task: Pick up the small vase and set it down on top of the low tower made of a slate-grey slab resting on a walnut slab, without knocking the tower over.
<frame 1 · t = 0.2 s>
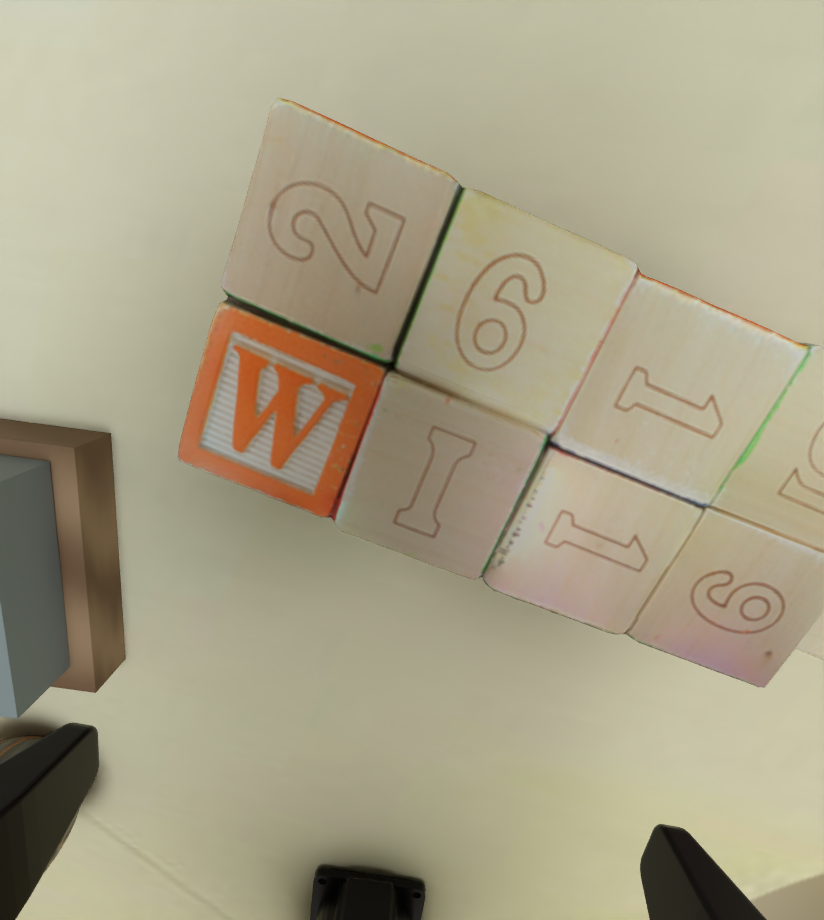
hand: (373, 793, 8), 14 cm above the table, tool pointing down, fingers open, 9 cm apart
tower base: (6, 531, 24), on the table, touching tower top
stack of blocks: (586, 402, 21), on the table
vase: (47, 760, 28), on the table
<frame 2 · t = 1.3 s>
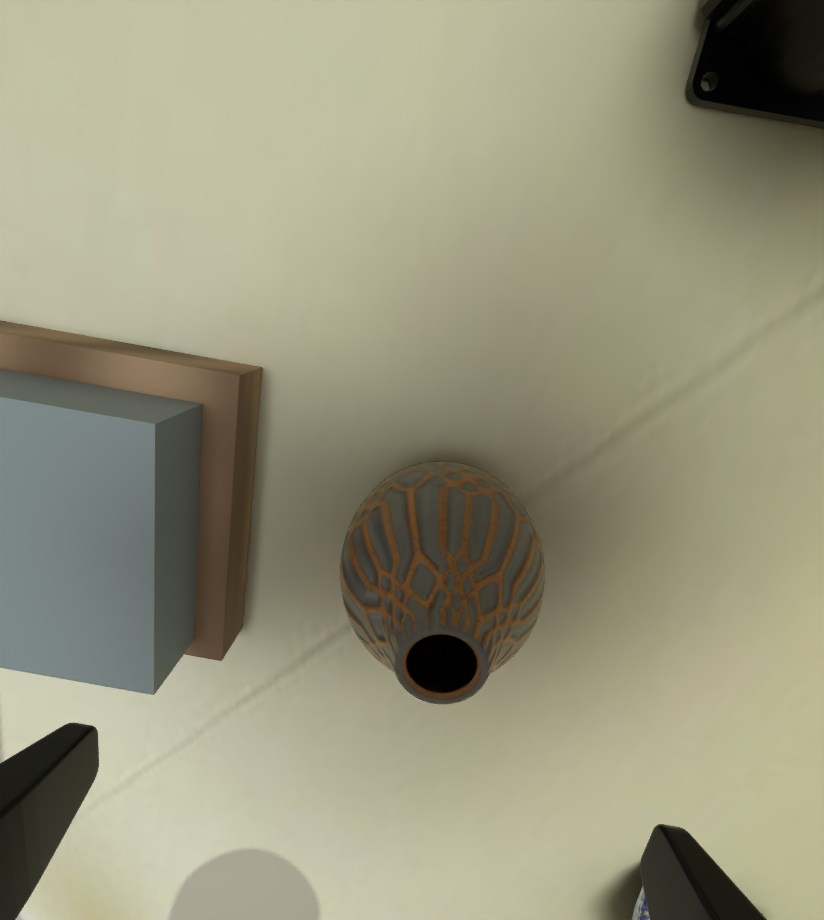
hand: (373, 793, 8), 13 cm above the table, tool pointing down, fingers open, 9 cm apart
tower base: (122, 477, 22), on the table, touching tower top
vase: (441, 519, 21), on the table
tower top: (68, 508, 19), point 2 cm above the table, touching tower base
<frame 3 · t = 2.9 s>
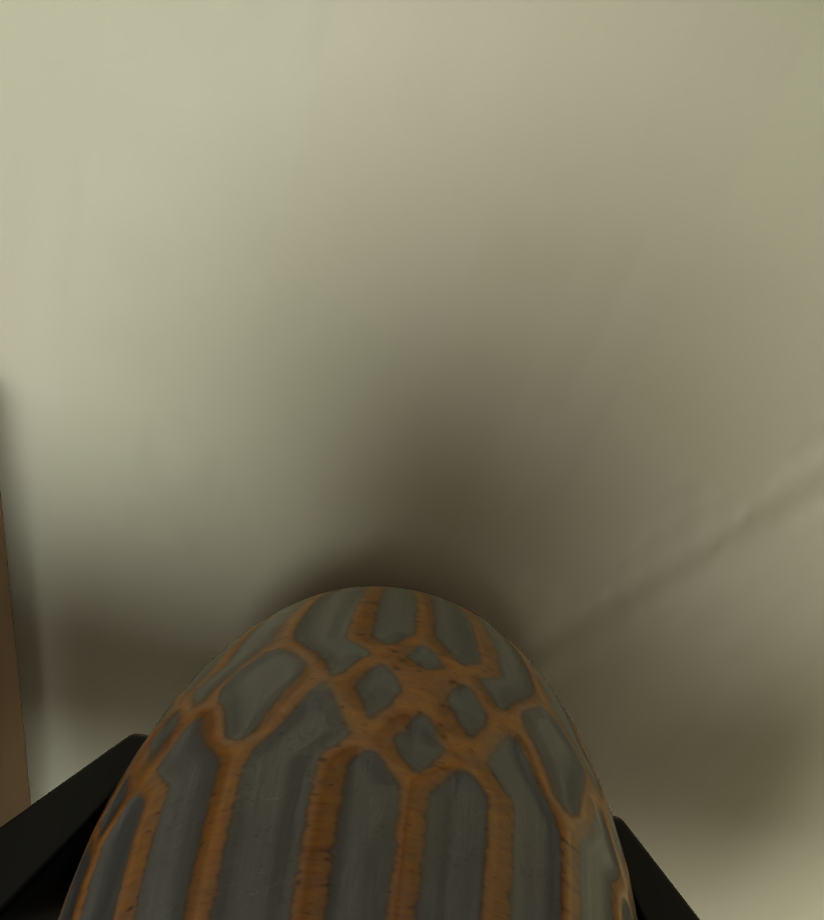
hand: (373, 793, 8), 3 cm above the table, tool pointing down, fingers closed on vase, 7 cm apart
vase: (389, 672, 11), on the table, touching gripper
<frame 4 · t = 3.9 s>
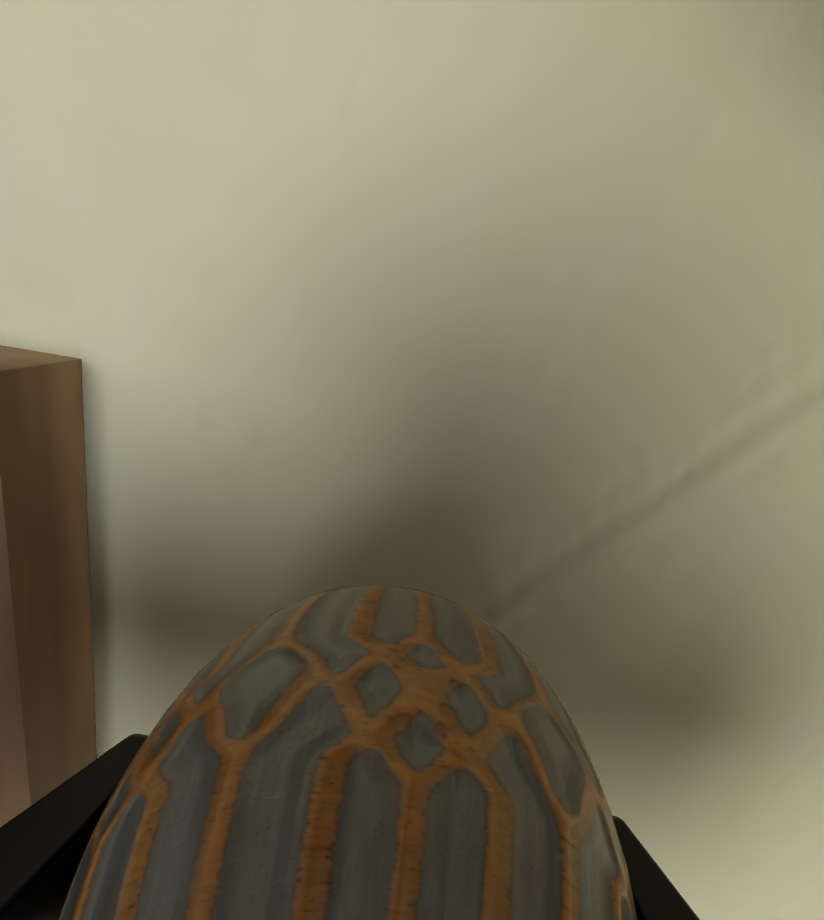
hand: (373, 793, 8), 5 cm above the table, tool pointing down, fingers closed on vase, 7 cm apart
vase: (389, 672, 11), point 2 cm above the table, touching gripper
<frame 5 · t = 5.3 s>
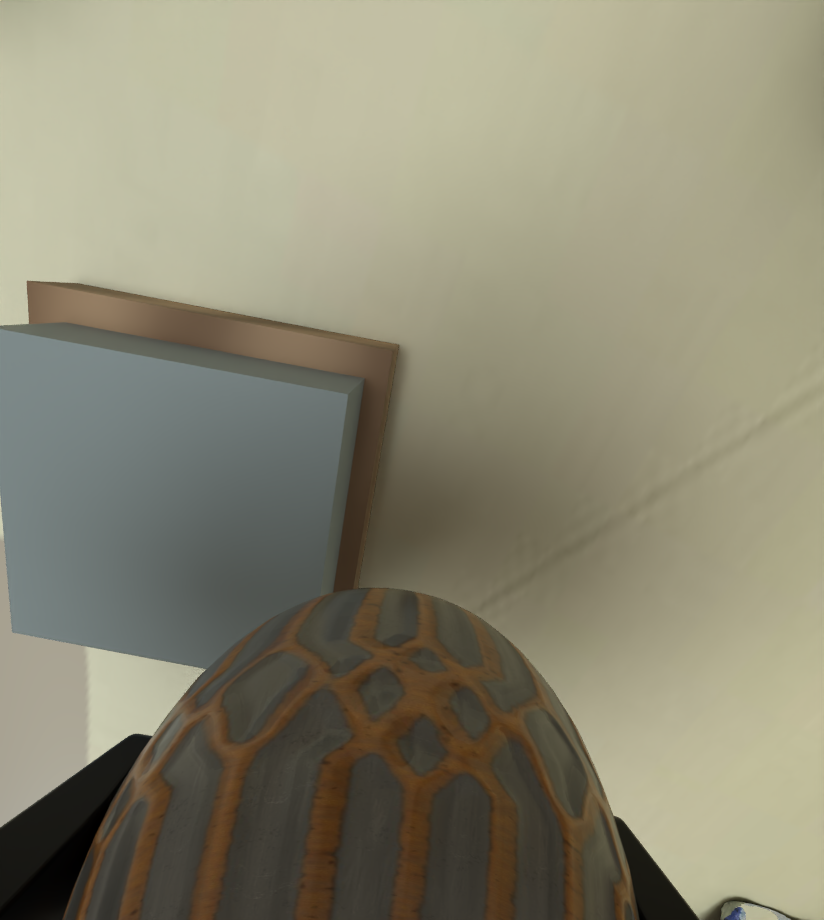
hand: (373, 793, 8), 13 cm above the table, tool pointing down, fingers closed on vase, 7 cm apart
tower base: (233, 461, 21), on the table
vase: (390, 674, 11), point 10 cm above the table, touching gripper
tower top: (207, 489, 18), point 2 cm above the table
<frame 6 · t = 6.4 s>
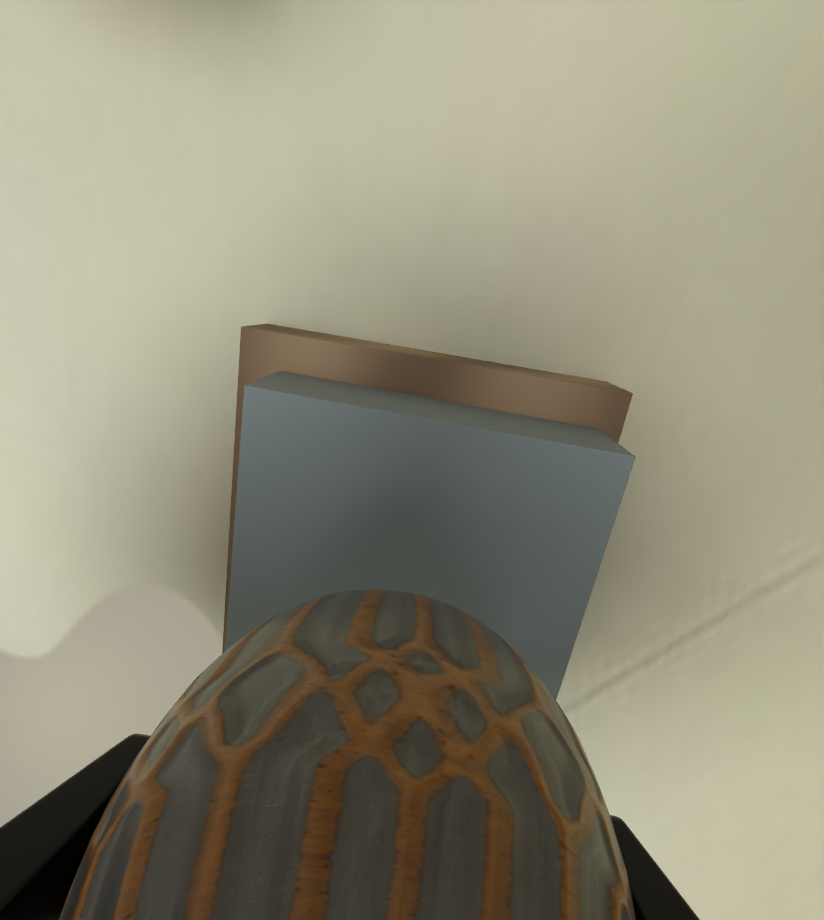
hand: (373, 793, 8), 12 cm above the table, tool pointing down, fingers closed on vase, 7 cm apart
tower base: (410, 504, 20), on the table, touching tower top
vase: (388, 675, 11), point 9 cm above the table, touching gripper
tower top: (411, 543, 17), point 2 cm above the table, touching tower base
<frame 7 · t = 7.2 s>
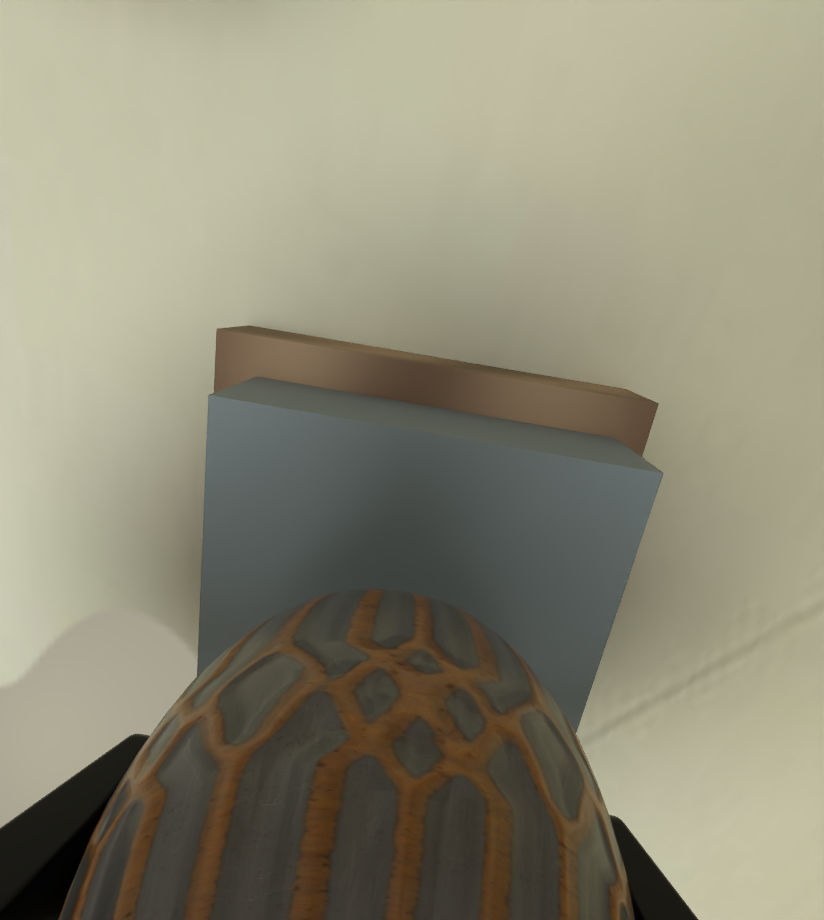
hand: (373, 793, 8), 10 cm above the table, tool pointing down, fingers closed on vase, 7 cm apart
tower base: (408, 522, 18), on the table, touching tower top
vase: (388, 675, 11), point 7 cm above the table, touching gripper
tower top: (407, 566, 15), point 2 cm above the table, touching tower base
when the fingers open (10 cm above the table, at t = 7.2 s): vase drops 2 cm, resting on tower top.
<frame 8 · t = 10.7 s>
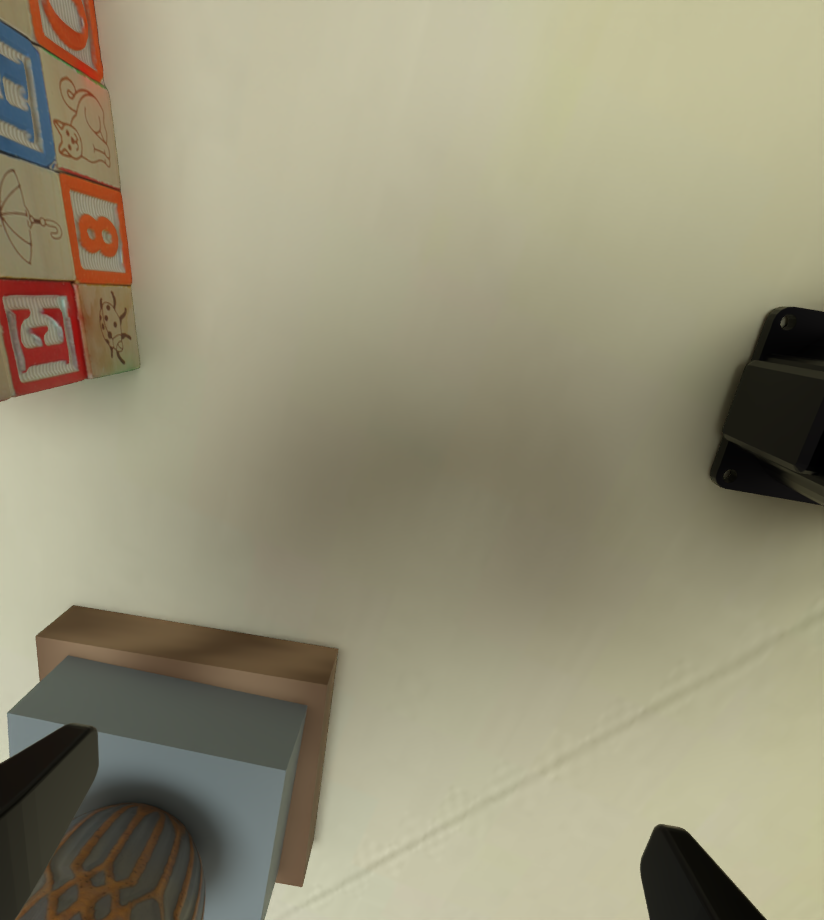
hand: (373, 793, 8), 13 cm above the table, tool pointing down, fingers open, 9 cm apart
tower base: (209, 717, 25), on the table, touching tower top
stack of blocks: (14, 37, 16), on the table
vase: (145, 835, 19), point 5 cm above the table, touching tower top
tower top: (180, 770, 22), point 2 cm above the table, touching tower base, vase
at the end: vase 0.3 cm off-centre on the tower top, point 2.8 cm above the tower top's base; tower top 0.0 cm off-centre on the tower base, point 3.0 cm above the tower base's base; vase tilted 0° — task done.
